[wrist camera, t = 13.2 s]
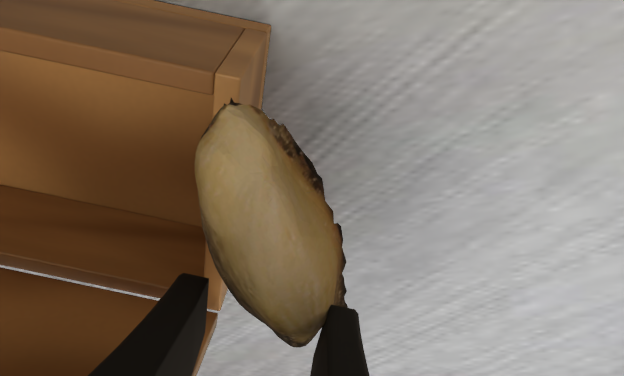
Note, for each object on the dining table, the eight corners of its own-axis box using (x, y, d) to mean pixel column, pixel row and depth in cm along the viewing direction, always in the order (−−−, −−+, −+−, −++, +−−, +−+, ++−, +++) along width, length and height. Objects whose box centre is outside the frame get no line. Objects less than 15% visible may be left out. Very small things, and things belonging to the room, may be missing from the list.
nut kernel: (225, 66, 10) (134, 159, 9) (438, 178, 10) (388, 301, 8) (205, 222, 16) (145, 302, 14) (346, 301, 15) (302, 394, 13)
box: (-196, -74, 16) (-347, -46, 13) (271, 24, 16) (241, 78, 13) (-102, 162, 22) (-191, 225, 19) (246, 236, 22) (220, 311, 19)
